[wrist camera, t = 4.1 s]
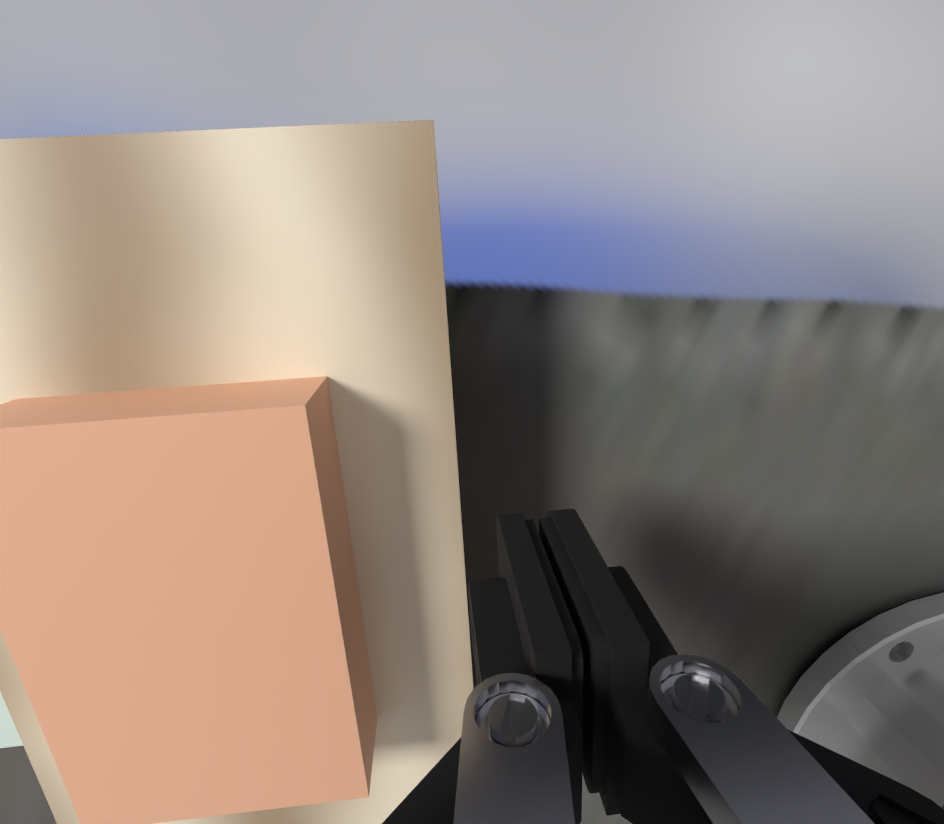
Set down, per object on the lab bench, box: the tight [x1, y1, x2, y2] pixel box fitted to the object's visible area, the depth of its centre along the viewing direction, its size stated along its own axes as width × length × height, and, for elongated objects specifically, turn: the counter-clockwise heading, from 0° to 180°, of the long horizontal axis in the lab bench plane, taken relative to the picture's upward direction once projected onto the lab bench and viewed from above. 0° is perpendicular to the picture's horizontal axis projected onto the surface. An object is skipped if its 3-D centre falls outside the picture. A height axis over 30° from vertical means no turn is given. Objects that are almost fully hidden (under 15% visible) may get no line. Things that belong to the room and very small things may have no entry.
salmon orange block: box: [0, 376, 377, 824], centre depth 11 cm, size 9×6×2 cm, turn 3°
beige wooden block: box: [0, 120, 473, 824], centre depth 14 cm, size 11×18×4 cm, turn 3°
